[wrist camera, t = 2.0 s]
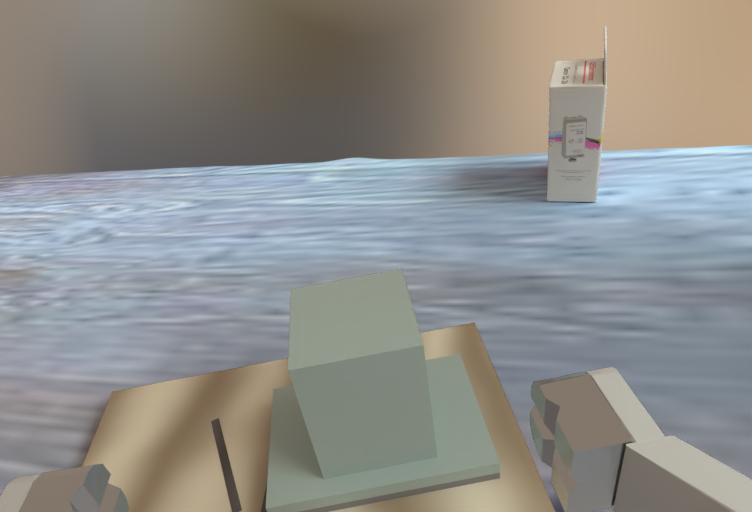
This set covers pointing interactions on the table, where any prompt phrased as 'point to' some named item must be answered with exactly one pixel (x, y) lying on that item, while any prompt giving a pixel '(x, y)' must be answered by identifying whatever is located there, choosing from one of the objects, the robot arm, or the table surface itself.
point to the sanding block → (369, 404)
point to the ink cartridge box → (576, 128)
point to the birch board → (252, 441)
